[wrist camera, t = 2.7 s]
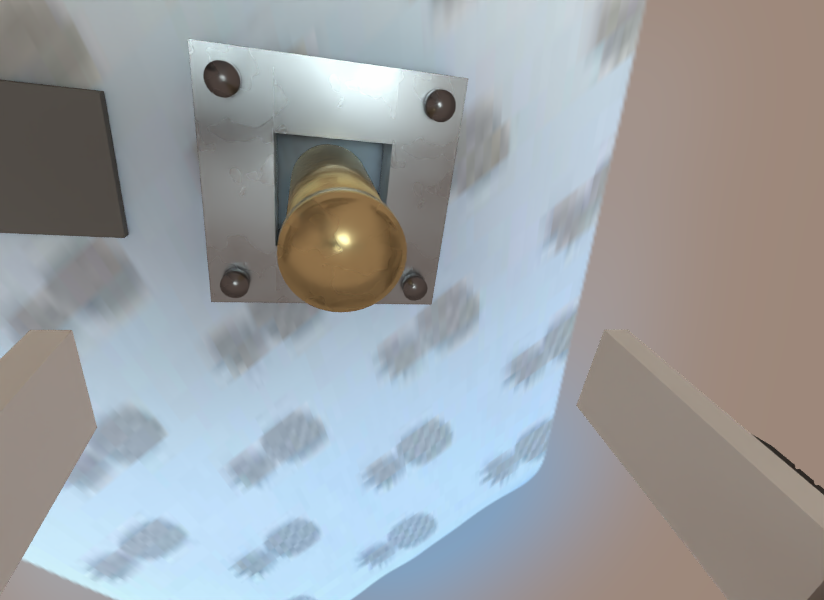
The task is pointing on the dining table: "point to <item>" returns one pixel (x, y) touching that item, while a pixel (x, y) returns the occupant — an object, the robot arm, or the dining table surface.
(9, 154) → the mat
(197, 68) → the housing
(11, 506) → the robot arm
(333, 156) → the brass-coloured knob
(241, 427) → the dining table surface
